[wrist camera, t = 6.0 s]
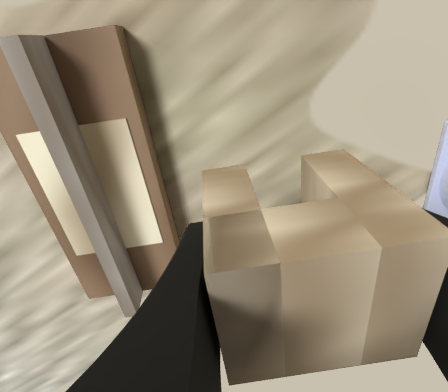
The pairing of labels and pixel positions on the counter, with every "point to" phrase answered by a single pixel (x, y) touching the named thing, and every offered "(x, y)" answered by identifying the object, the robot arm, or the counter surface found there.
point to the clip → (318, 270)
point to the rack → (89, 156)
